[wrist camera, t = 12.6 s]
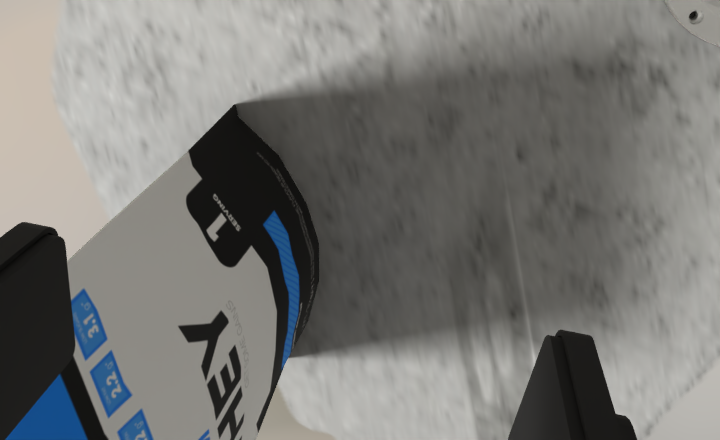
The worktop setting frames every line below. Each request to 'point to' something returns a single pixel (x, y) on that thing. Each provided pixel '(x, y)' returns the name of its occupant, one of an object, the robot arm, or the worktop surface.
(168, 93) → the worktop surface
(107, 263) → the protein powder
